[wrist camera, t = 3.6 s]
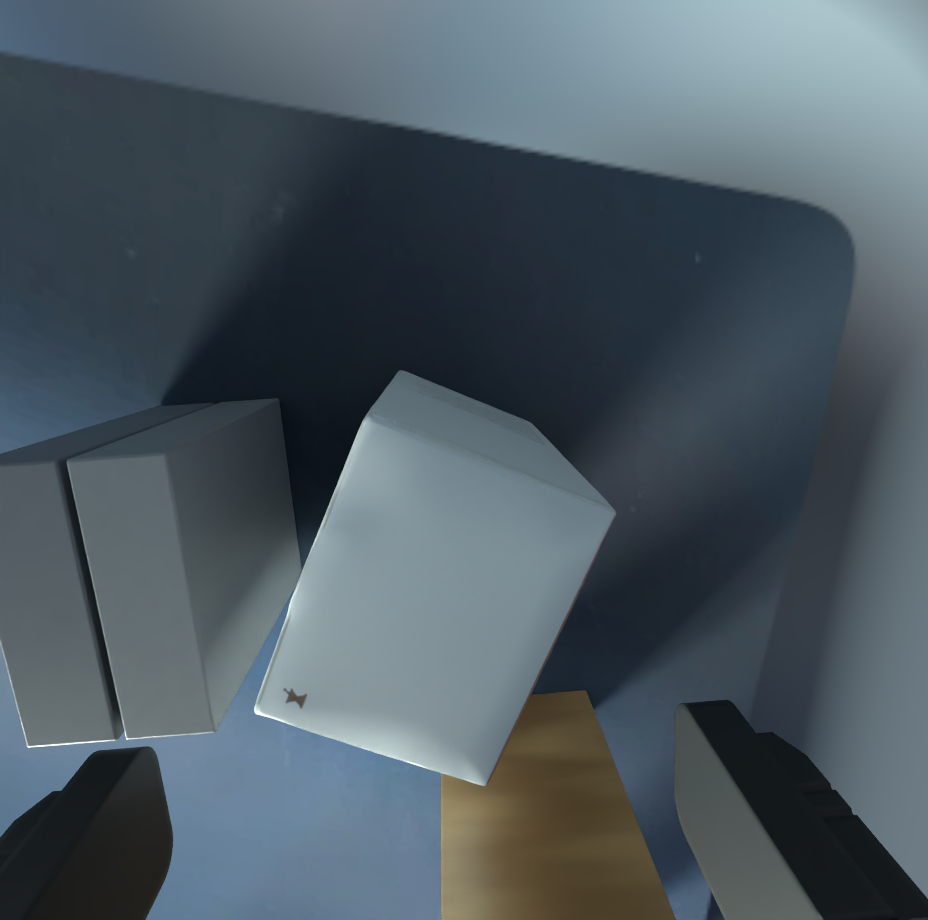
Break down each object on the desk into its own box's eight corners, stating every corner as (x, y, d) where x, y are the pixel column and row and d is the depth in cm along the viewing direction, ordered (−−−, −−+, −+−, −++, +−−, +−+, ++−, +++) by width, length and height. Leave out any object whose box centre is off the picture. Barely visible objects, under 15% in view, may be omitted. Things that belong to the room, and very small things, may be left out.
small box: (465, 582, 28) (487, 797, 15) (334, 534, 27) (242, 719, 15) (536, 420, 27) (625, 511, 14) (399, 364, 26) (359, 406, 13)
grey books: (279, 397, 26) (166, 452, 15) (302, 574, 28) (215, 734, 17) (155, 406, 26) (-47, 467, 15) (186, 582, 28) (25, 748, 17)
